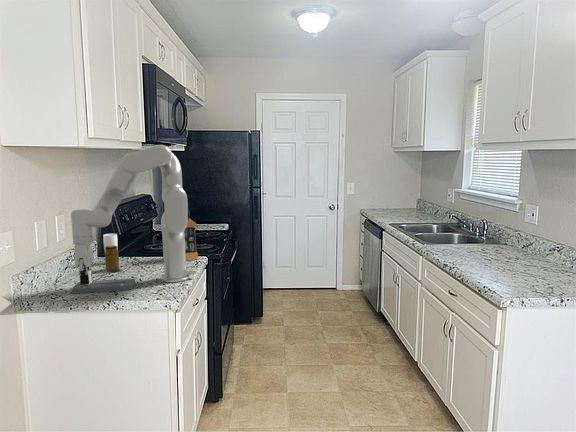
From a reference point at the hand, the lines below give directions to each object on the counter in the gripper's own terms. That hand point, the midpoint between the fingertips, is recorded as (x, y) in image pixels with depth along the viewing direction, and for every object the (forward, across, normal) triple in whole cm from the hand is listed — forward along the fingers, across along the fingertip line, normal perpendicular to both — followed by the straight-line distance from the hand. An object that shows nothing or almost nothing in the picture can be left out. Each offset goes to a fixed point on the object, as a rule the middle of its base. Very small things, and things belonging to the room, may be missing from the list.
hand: (86, 281), depth 174 cm
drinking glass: (+3, -44, +2) cm, 44 cm away
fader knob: (+1, 0, 0) cm, 1 cm away
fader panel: (+3, 0, +7) cm, 8 cm away
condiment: (+3, -28, +6) cm, 29 cm away
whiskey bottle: (+3, -44, +40) cm, 60 cm away
